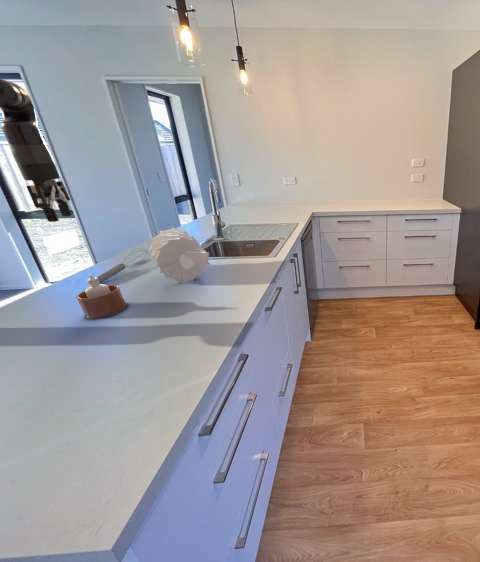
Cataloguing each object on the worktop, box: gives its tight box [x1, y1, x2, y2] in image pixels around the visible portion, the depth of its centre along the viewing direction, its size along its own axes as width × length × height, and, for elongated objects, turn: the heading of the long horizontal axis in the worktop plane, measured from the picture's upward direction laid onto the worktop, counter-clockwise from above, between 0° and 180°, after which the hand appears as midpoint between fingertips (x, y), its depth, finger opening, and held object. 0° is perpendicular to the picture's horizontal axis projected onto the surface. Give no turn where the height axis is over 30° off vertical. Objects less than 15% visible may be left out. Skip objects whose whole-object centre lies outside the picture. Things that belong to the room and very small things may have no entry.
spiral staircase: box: [148, 227, 211, 283], centre depth 122 cm, size 18×18×25 cm
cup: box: [76, 284, 127, 320], centre depth 97 cm, size 10×10×7 cm
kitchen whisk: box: [95, 247, 152, 284], centre depth 129 cm, size 6×34×6 cm, turn 1°
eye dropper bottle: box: [84, 274, 110, 298], centre depth 96 cm, size 4×6×12 cm
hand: (61, 218), depth 92 cm, fingers open, 8 cm apart
